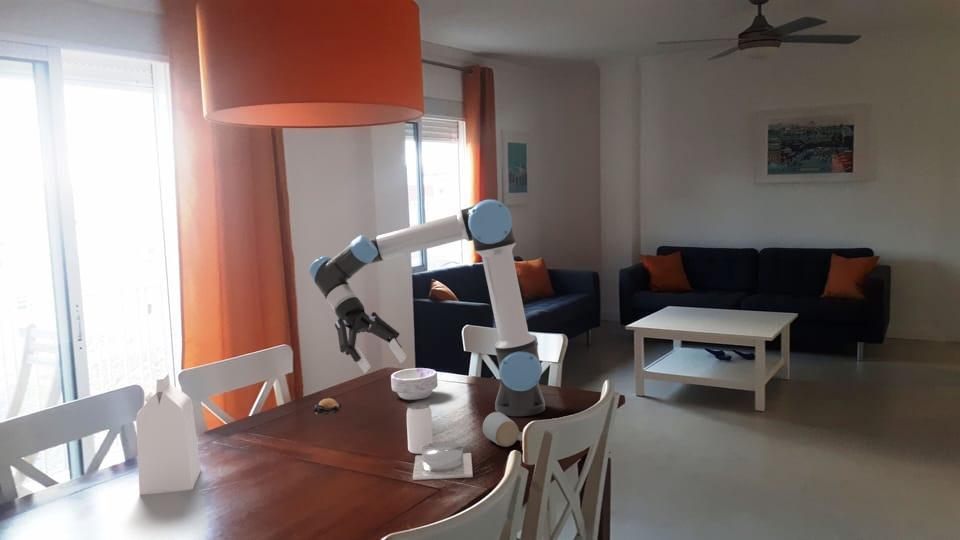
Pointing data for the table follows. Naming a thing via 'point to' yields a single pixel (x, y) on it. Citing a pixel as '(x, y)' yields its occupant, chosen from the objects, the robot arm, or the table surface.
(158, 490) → the milk
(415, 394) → the white bowl
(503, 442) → the ceramic mug
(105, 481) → the table surface
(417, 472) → the duct collar
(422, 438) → the can
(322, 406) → the toy turtle
